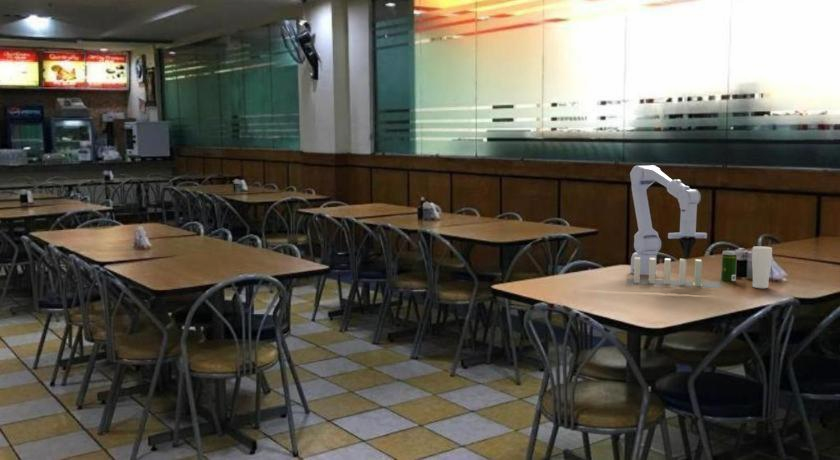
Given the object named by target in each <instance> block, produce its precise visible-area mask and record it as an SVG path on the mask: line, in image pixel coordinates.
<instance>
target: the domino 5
mask: <svg viewBox="0 0 840 460" xmlns="http://www.w3.org/2000/svg"><path fill="white" fill-rule="evenodd" d="M702 269H703V261H702V259H701V258H699V259H694V278H693V279H694V280H693V281H694V284H695V285H701V282H702V272H703V270H702Z"/></svg>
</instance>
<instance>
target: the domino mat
mask: <svg viewBox="0 0 840 460" xmlns="http://www.w3.org/2000/svg"><path fill="white" fill-rule="evenodd" d="M626 282H627V283H626V284H627V285H643V286H668V287H669V286H670V287H689V288H690V287H692V288H693V287H694V288H713V289H714V288H715V289H722V288H723V287H722V286H721V284H720V283H719V282H715V281H713V282H712V281H701V285H695V284H694V280H693V281H691V280H686V282H685V285H680V284H679V280H672V279H670V284H664V279H655V283H649V278H648V279H645V278H642V279H641V278H640V283H634V278H626Z"/></svg>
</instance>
